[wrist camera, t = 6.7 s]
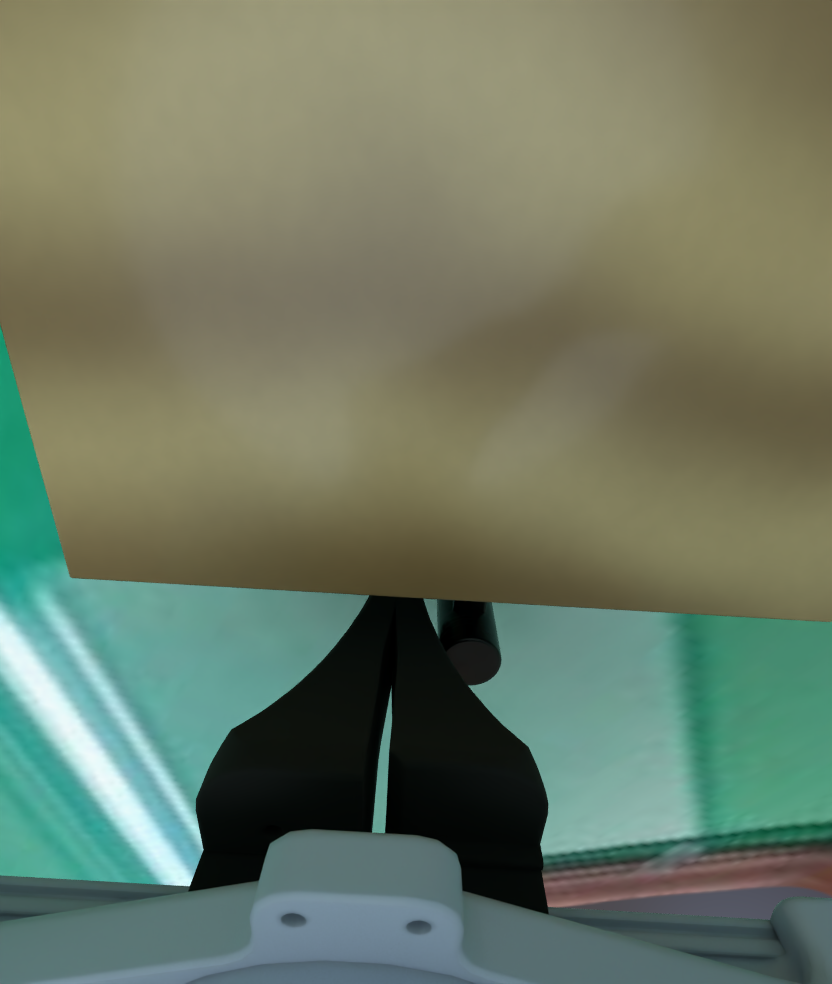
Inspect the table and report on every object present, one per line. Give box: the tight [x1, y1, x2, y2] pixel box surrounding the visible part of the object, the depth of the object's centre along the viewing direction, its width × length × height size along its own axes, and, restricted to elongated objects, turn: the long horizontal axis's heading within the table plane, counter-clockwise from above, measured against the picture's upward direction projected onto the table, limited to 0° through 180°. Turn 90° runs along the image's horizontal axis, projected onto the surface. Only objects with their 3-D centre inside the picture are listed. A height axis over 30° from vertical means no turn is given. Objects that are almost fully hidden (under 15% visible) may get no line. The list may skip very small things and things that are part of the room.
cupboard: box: [0, 0, 832, 622], centre depth 11 cm, size 10×16×6 cm, turn 87°
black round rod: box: [437, 599, 501, 685], centre depth 14 cm, size 4×8×4 cm, turn 87°
